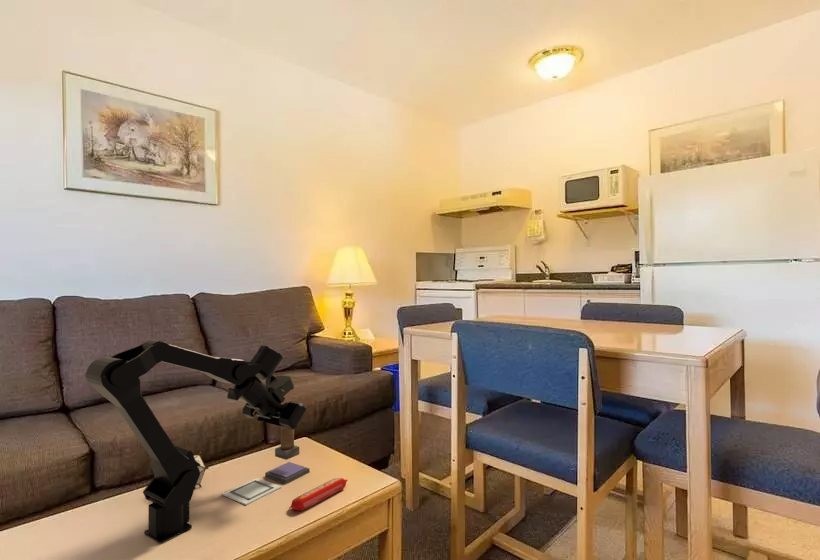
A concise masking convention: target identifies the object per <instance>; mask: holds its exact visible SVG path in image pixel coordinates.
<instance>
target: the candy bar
mask: <svg viewBox="0 0 820 560" xmlns="http://www.w3.org/2000/svg"><path fill="white" fill-rule="evenodd" d="M348 480H349V479H344V478H343V477H335V478H332V479H331V480H328V481H326V482H324V483H323V484H321V485H317V486H316V487H315V488H312V489H310V490H309V491H306V492H304V493H302V494H301V495H299V496H297V497H295V498H293V499H292V501H291V504H290V506H289V507H288V510H290V509H291V510H293V511H304V510H305V509H309V508H310V507H312V506H314V505H315V504H318V503H320V502H321V501H323V500H325V499H327V498H328V497H330V496H333V495H334V494H335V493H339V491H341V490H343V489H345V488H346V485H347V482H348Z"/></svg>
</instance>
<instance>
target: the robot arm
mask: <svg viewBox="0 0 820 560" xmlns="http://www.w3.org/2000/svg"><path fill="white" fill-rule="evenodd" d="M283 361H284V356H282V354H281V353H280V352H277V351H275V350H274V349H272V348H269V345H261V346H260V347H259V348H258V350H257V352H256V353H255V354H254V356H253V357H252V358H251V360H250V361H246V360H245V359H240V358H232V357H224V356H212V355H208V354H204V353H202V352H198V351H194V350H190V349H188V348H184V347H180V346H178V345H174V344H170V343H168V342H166V341H165V340H157V339H149V340H146V341H145V342H142V343H140V344H139V345H137V346H134V347H131V348H128V349H125V350H123V351H120V352H117V353H115V354H113V355H110V356H101V357H99V358H97V359H96V358H95V360H93V361H92V362H91V363H90V364H89V365H88V367H87V369H86V372H85V373H84V375H85V379H86V382H87V383H88V384H89V386H91V387H92V388H93V389H94V390H95V391H96V392H97V393H99V394H100V395H101V396H102V397H103V398H105V399H106V400H108V401H109V402H110V403H112V404H113V405H114V406H115V407H116V409H117V410H118V411H119V413H120V414H121V416H122V417H123V419H124V420H125V422H126V423H127V425H128V427H129V428H130V429H131V431H132V432H133V434H134V435H135V436H136V438H137V440H138V441H139V443H140V444H141V445H142V447H143V448H144V450H145V451H146V453H147V454H148V455H149V457H150V459H151V469H152V470H151V471H152V473H153V475H154V476H153V477H152V479H151V481H150V482H149V483H148V485H147V486H145V488H144V489H143V491H142V493H143V495H144V497H145V500H146V501H149V502H151V503H150V504H148V516H147V517H148V529H145V530H144V532H143V533H144V535H145V536H148V537H149V538H150V539H151V540H153V541H155V542H157V543H158V544H163V543H164V542H166V541H168V540H171V539H173V538H174V537H177V536H179V535H180V534H183V533H185V532H187V531H189V530H190V529H192V527H193V525H192V524H191V523H189V522H190V502H191V501H192V498H193V494H194V491H195V489H196V486H195V485H196V483H197V481H198V479H199V476H200V470H199V468H198V467H197V466H200V464H199V463H197V461H196V460H195V458H194V455H195V454H194V453H193V452H192V450H191V449H187V448H184V447H182V446H179V445H174V443H173V442H172V440H171V439H170V437H169V435H168V433H166V431H165V429H164V428H163V426H162V424H161V423H160V421H159V420H158V419H157V417H156V415H155V413H154V412H153V411H152V409H151V408H150V406H149V404H148V403H147V401H146V399H145V398H144V396H143V394H142V386H141V385H142V384H141V383H142V382H141V379H140V378H141V376H144V375H145V374H147V373H148V372H149V371H151V370H152V369H153V368H154V367H155V366H156V365H157V364H159V363H165V364H170V365H173V366H177V367H181V368H185V369H189V370H192V371H197V372H200V373H203V374H204V375H206V376H208V377H209V378H211V379H213V380H215V381H217V382H220V383H225V384H231V385H233V386H232V387H228V388H227V389H228V393H227V396H226V397H227V398H226V399H229V400H232V401H236V402H237V401H239V400H240V398H241V399H242V400H243V401H244V402H246V403H245V405H244V406H243V408H242V415H243V416H244V417H246V418H249V419H253V420H254V418H255V416H257V421H258V422H262V423H266V424H270V425H275V426H277V427H280V428H281V427H285V428H289V429H293V430H294V431H296V430H297V428H298V424H299V422H300V421H301V419H302V417H303V416H304V414H305V412H306V411H307V406H306V405H305V404H304V403H303V402H300V401H295V400H291V401H288V402H285V403H284V401H285V400H286V398H285V397H284V396H285V395H287V394H288V393H289V392H290V391H292V390H294V388H295V385H294V382H293V379H292V377H291V376H288V375H276V376H275V375H274V374H275V372H276V371H277V370H278V368H279V366H281V364H282V362H283ZM261 380H263V381H264V380H265V382H264V383H263V381H261ZM282 403H283V404H282Z"/></svg>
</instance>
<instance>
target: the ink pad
mask: <svg viewBox="0 0 820 560" xmlns="http://www.w3.org/2000/svg"><path fill="white" fill-rule="evenodd" d="M310 469H311V468H309V467H305V466H303V465H300V464H296V463H295V462H290V461H288V462H286V463H284V464H281V465H279V466H276V467H274V468H272V469H270V470H268V471H266V472H264V473H265V475H264V477H265V478H268V479H270V480H274V481H277V482H280V483H282V484H285V485H287V484H289V483H291V482H292V481H295V480H297V479H299V478H301V477H303V476H305V475H307V474H309V473H310Z"/></svg>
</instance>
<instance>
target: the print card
mask: <svg viewBox="0 0 820 560" xmlns="http://www.w3.org/2000/svg"><path fill="white" fill-rule="evenodd" d="M279 489H282V486H281V485H278V484H276V483H272V482H270V481H268V480H264V479H262V478H259V477H257V478H254V479H252V480H250V481H248V482H244V483H243V484H241V485H239V486H237V487H234V488H232V489H229V490H227V491H225V492H223V493H222V496H224V497H226V498H229V499H231V500H233V501H236V502H237V503H240V504H242V505H245V506H247V505H249V504H252V503H254V502H255V501H257V500H260V499H262V498H263V497H266V496H267V495H269V494H271V493H274V492H275V491H277V490H279Z"/></svg>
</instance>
